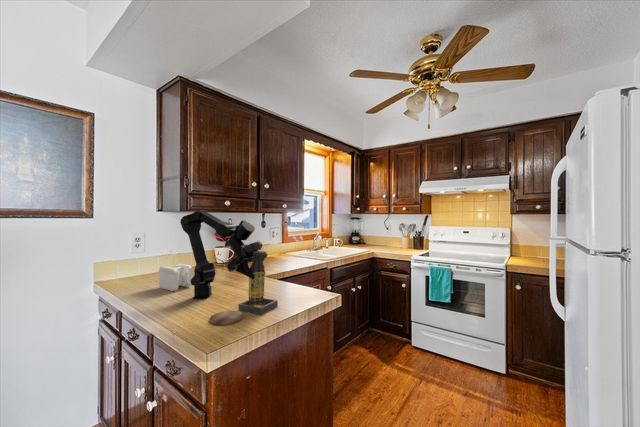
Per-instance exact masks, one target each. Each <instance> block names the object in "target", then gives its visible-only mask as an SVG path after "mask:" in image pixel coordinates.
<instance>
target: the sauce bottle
mask: <svg viewBox="0 0 640 427" xmlns="http://www.w3.org/2000/svg"><path fill="white" fill-rule="evenodd" d="M263 252H264V251H262V250H258V251H253V262H251V264H250V266H249V268H250V270H251V271H252V273H253V275H254V277H255V278H254V279H251V278H249V277H248V300H249V301H252V302H258V301H262V300H263V298H265V282H266V281H265V279H266V278H265V276H266V271H265V265H264V262H263V263H262V255H263Z"/></svg>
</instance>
